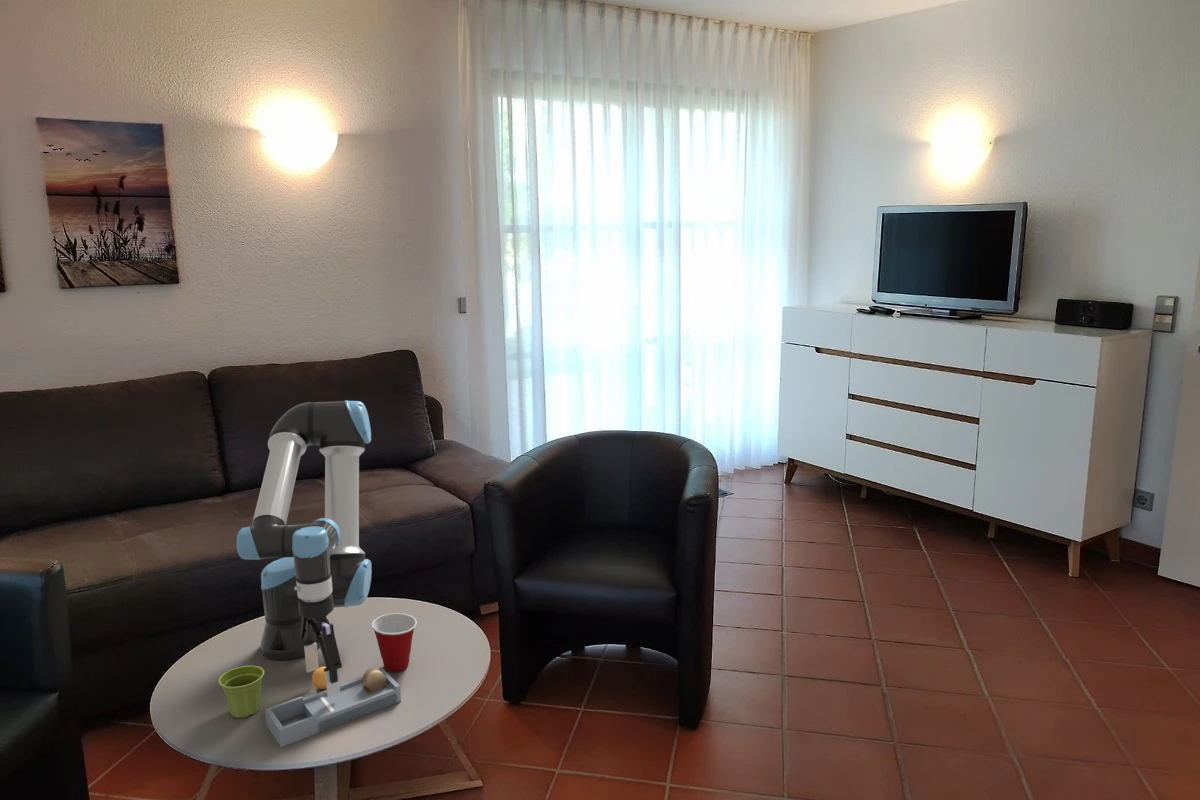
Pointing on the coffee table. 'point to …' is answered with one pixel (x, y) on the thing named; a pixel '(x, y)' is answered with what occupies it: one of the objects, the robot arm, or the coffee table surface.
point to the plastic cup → (394, 639)
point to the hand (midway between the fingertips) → (322, 682)
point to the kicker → (373, 680)
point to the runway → (327, 710)
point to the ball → (319, 678)
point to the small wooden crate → (320, 690)
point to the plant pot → (242, 689)
